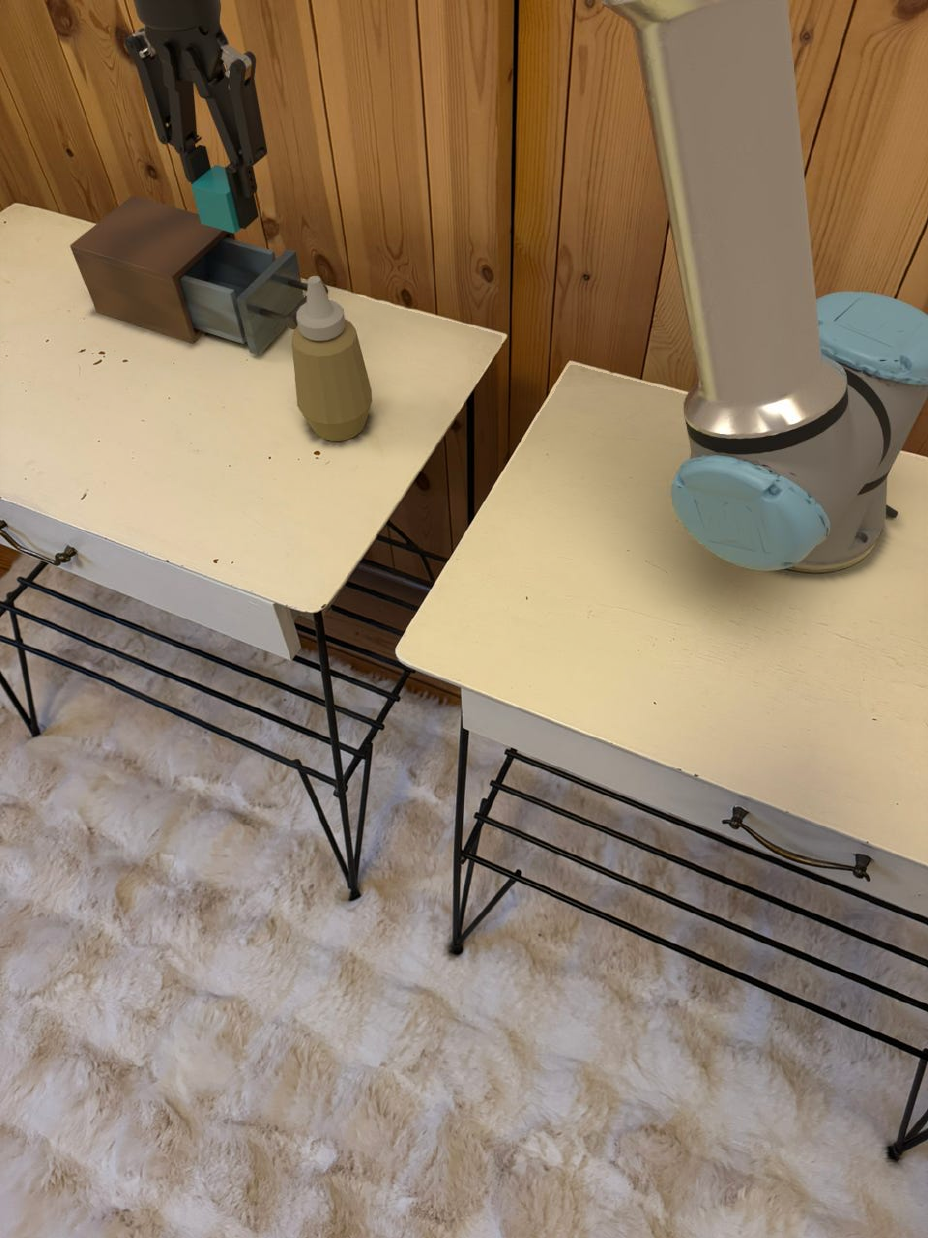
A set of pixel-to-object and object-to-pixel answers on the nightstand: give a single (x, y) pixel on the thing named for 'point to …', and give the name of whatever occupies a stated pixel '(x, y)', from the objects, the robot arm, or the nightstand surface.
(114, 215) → the drawer cabinet
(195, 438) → the nightstand surface
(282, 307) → the grey drawer
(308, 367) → the squeeze bottle
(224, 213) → the teal rectangular block
